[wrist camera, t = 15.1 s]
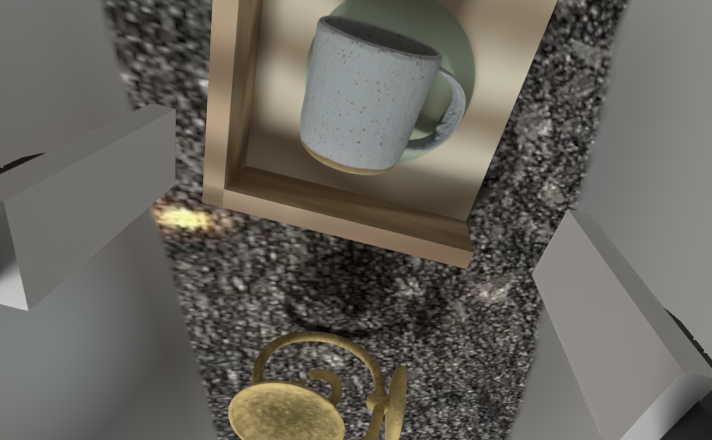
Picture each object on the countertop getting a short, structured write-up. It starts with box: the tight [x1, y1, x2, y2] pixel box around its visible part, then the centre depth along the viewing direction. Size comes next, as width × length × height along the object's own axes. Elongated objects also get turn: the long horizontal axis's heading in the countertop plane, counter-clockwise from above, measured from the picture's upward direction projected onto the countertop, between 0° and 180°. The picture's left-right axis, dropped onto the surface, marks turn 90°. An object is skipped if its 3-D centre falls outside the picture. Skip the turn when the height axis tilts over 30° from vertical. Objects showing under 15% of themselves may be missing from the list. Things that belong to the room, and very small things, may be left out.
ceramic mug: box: [300, 15, 466, 175], centre depth 27 cm, size 11×8×8 cm
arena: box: [202, 0, 557, 269], centre depth 28 cm, size 20×20×6 cm
